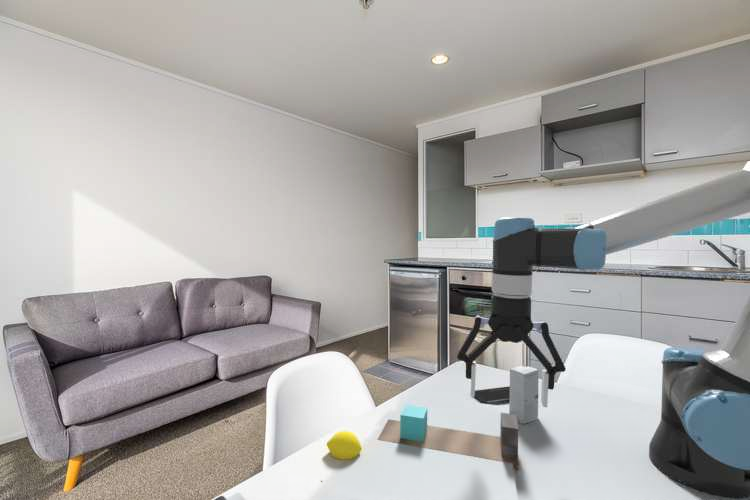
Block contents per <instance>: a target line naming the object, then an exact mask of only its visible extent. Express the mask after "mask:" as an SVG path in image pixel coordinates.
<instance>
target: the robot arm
mask: <svg viewBox="0 0 750 500" xmlns="http://www.w3.org/2000/svg"><path fill="white" fill-rule="evenodd" d="M749 213H750V161H747V162H746V163H745V165H744V166H743V168H742V169H741V170H737V171H734V172H732V173H728V174H725V175H723V176H720V177H717V178H715V179H711V180H708V181H705V182H703V183H701V184H697V185H694V186H692V187H689V188H685V189H683V190H679V191H677V192H674V193H671V194H669V195H665V196H662V197H660V198H657V199H654V200H650V201H647V202H645V203H642V204H639V205H637V206H633V207H631V208H628V209H625V210H622V211H619V212H615V213H613V214H609V215H608V216H605V217H601V218H599V219H597V220H592V221H590V222H587V223H584V224H581V225H578V226H576V227H572V228H571V227H569V228H567V227H566V228H565V227H562V228H556V227H555V228H542V227H536V225H535V220H534V219H533V218H532V217H501V218H497V220H496V221H495V222H494V231H493V238H492V273H491V292H492V293H493V294H492V295H491V298H490V299H491V301H490V303H491V304H490V316H489V317H483V316H481V315H480V314H477V315H475V318H474V322H473V323H474V324H473V326H472V327H471V329H470V332H469V333H468V335H467V337H466V339H465V340H464V342H463V344H462V345H461V347H460V349H459V351H457V356H456V359H457V360H459V361H463V363H465V378H466V379H469V380H470V397H472V398H474V397H475V390H476V370H477V369H476V368H477V367H476V366H477V363H476V360H477V359H478V357H480V356H481V355H482V354H483V353H484V352H485V351H486V350H487V349H488V348H489V347H490V346H491V345H492V344H494V343H495V342H496V341H497V340H499V341H501V342H505V343H506V342H511V343H515V344H518V343H521V342H523V343H524V345H526V346H527V348H528V349H529V350H530V351H531V353H532V355H533V354H534V356H535V357H536V358H537V360H538V362H540V363H541V365H542V366H543V367H544V368H542V369H541V370H542V371H541V391H540V393H541V395H540V401H541V405H542V407H543V408H548V397H549V396H548V395H549V390H551V391H552V390H554V388H555V375H556V374H557V373H559V372H561V373H564V372H565V371H566V369H567V368H566V366H565V364H564V362H563V360H562V357H561V356H560V354H559V352H558V350H557V347H556V346H555V344H554V341H553V339H552V337H551V335H550V330H549V324H548V323H547V321H545V320H544V319H541V320H540V321H532V318H531V317H532V316H531V315H532V299H531V297H529V296H530V295H532V294H533V293H532V291H533V267H538V268H542V267H543V268H554V269H555V268H556V269H571V270H580V271H589V270H590V271H591V270H593V271H596V270H602V269H603V268H604V267H605V264H606V259H607V258H606V256H607V255H610V254H614V253H617V252H621V251H625V250H627V249H632V248H633V247H638V246H641V245H644V244H647V243H651V242H655V241H657V240H661V239H665V238H668V237H671V236H672V237H673V236H675V235H679V234H681V233H685V232H688V231H691V230H694V229H698V228H701V227H705V226H709V225H711V224H715V223H718V222H721V221H722V222H723V221H726V220H728V219H732V218H735V217H738V216H742V215H745V214H749ZM486 325H488V326H489V328H490V330H491V331H490V332H489V333H488V335H487V336H486V337H485V338H484V339H482V340H481V342H479V344H477V346H476V347H475V348H473V349H472V351H470V352H469V353H468V351H469V349H470V347H471V345H472V344H473V342H474V341H475V338H476V337H477V335H478V333H479V332H480V329H484V327H485V326H486ZM533 329H536V332H537V333H538V334H541V336H542V338H543V341H544V342H545V345H546V347H547V349H548V351H549V352H550V353H549V354H551V356H552V357H551V358H552V359H553V362H554V363H551V362H550V361H549V359H548V358H547V357H546V356H545V354H544V353H543V352H542V351H541V349H540V348H539V347H538V346H537V345H536V343H535V342H534V341H533V340H532V338H531V337H530V336H529V334H530V332H531V331H532V330H533ZM467 353H468V354H467ZM662 355H663V356H662V360H661V364H662V374H661V375H662V378H661V379H662V380H661V413H660V414H661V415H660V422H659V424H658V426H657V428H656V430H655V432H654V434H653V436H652V438H651V440H650V441H649V447H648V448H649V449H648V456H649V460H650V461H651V463H652V464H653V465H654V466H655V467H656V468H657V469H658V470H659V471H660V472H662V473H663V474H665V475H667V476H668V477H669V478H672V479H674V480H675V481H677V482H679V483H682V484H684V485H686V486H688V487H689V488H693V489H696V490H698V491H701V492H704V493H709V494H712V495H715V496H721V497H725V498H726V497H727V498H737V499H738V498H747V497H750V296H749V297H748V299H747V300H746V302H745V304H744V306H743V308H742V309H741V311H740V313H739V315H738V316H737V319H736V320H735V323H734V324H733V326H732V328H731V329H730V332H729V334H728V335H727V337H726V339H725V341H724V342H723V344H722V346H721V348H719V349H717V350H707V349H700V348H693V347H692V348H691V347H688V348H687V347H680V346H679V347H678V346H675V347H674V346H672V347H667V348H666V349H664V351H663V354H662Z"/></svg>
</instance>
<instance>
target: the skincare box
mask: <svg viewBox="0 0 750 500" xmlns="http://www.w3.org/2000/svg"><path fill="white" fill-rule="evenodd" d="M509 386H510V403H508V405H509V411H508V412H509V413H508V414H515V415H516V418H517V423H520V424H523V425H524V424H528V423H530V422H532V421H535V420H537V419H538V418H539V369H537V368H535V367H532V366H528V365H525V364H524V365H519V366H516V367H513V368H510V369H509Z"/></svg>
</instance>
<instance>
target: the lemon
mask: <svg viewBox="0 0 750 500" xmlns="http://www.w3.org/2000/svg"><path fill="white" fill-rule="evenodd" d="M326 446H327V449H328V450H329V452H330V454H331V456H332V457H334V458H335V459H338V460H343V461H345V460H348V461H349V460H350V459H351V460H352V459H354V458H356V457H357V456H359V454H360V453H361V451H362V446H361V441H360V440H359V437H358V436H357V435H355V433H353V432H350V431H346V430H343V431H338V432H336V433H334V435H332V437H331V438H330V439H329V440H328V441H327V442H326Z"/></svg>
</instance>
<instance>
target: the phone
mask: <svg viewBox="0 0 750 500" xmlns="http://www.w3.org/2000/svg"><path fill="white" fill-rule="evenodd" d="M475 398H476V399H475ZM473 399H475V400H476V401H478V402H479V403H480V404H483V405H491V406H495V405H500V404H501V405H503V404H509V403H510V385H509V386H502V387H494V388H493V387H492V388H485V389H484V388H483V389H475V397H473Z"/></svg>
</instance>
